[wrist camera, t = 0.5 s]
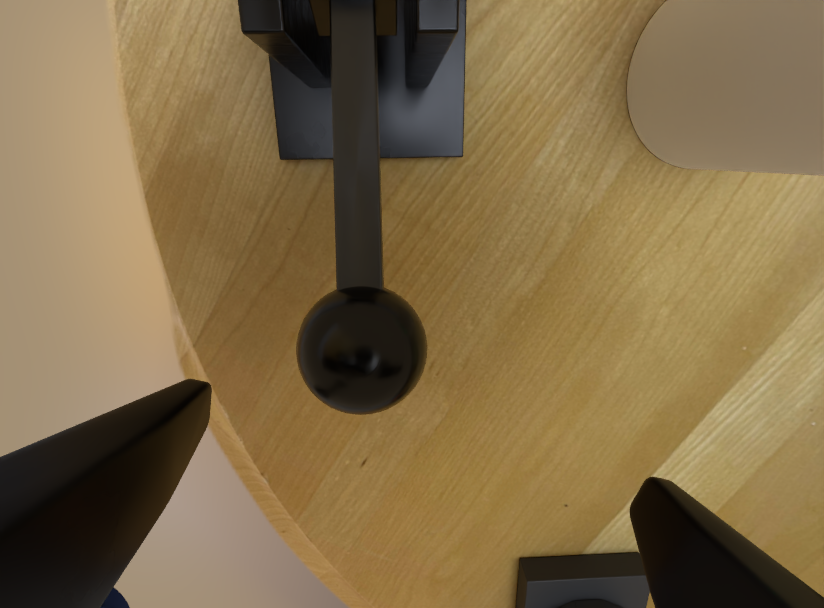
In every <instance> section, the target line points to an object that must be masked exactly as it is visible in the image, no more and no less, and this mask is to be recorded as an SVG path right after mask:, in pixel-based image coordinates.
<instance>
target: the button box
mask: <svg viewBox="0 0 824 608" xmlns="http://www.w3.org/2000/svg"><path fill="white" fill-rule="evenodd" d="M649 592H650V589H649V586H648V582H647V579H646V575H645V571H644V567H643V564H642V560H641V556H640V553H619V554H599V555H579V556H559V557H540V558H521V559H520V564H519V576H518V588H517V599H516V608H646V606H647V601H648V596H649Z"/></svg>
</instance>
